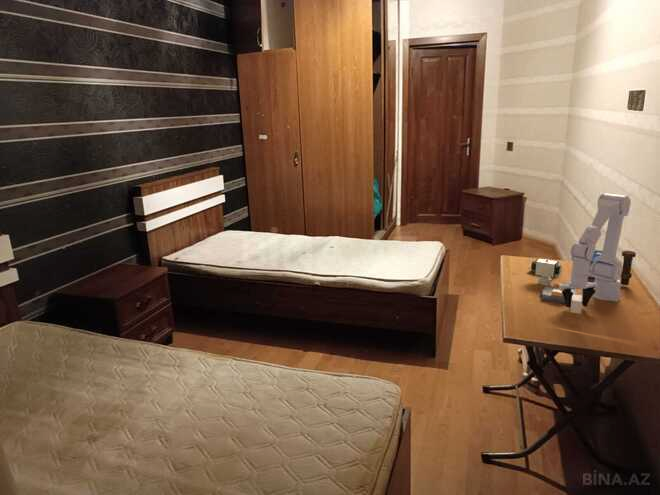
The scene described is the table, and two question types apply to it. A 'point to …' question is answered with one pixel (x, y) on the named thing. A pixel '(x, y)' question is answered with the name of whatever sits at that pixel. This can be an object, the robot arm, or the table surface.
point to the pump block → (576, 304)
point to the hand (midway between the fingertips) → (576, 306)
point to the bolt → (627, 266)
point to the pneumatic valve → (546, 270)
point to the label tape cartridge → (593, 262)
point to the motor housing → (554, 293)
